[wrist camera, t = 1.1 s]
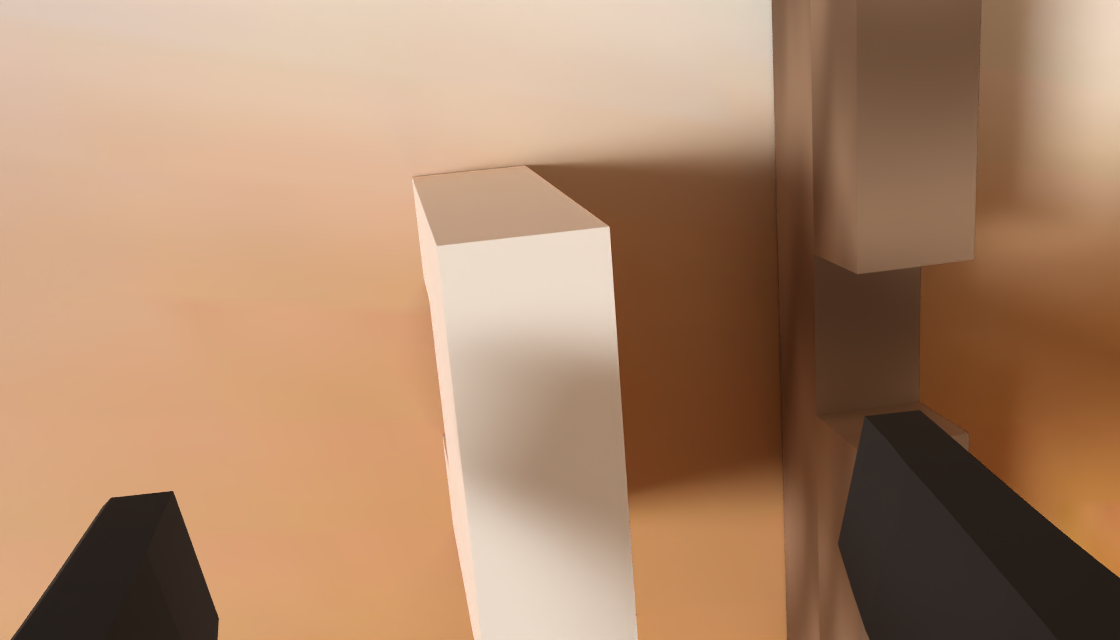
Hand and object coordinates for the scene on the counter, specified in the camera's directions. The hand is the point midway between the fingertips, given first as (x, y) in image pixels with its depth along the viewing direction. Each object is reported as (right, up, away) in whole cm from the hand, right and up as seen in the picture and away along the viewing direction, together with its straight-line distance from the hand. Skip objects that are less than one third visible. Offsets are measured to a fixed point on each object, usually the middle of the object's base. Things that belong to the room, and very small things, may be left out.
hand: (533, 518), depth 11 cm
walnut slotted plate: (+7, +2, +13) cm, 15 cm away
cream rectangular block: (-1, +1, +12) cm, 12 cm away
